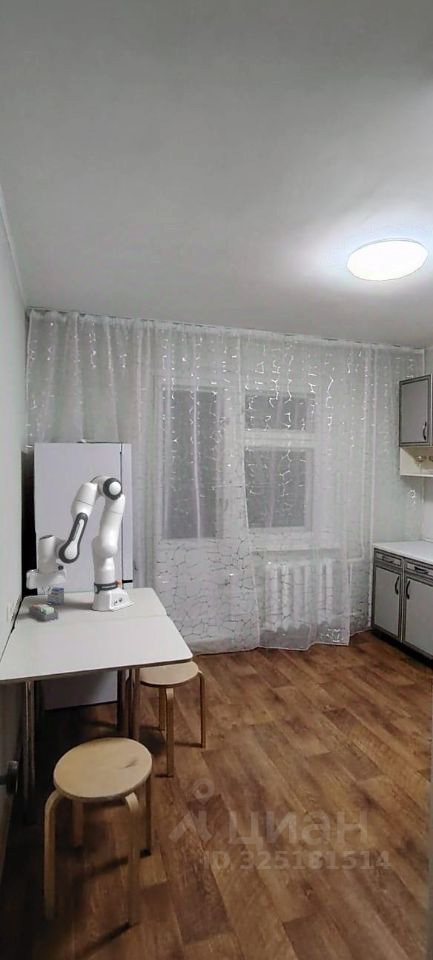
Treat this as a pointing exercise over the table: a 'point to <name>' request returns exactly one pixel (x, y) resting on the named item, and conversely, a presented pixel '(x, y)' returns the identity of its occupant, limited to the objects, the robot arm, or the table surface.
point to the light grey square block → (40, 607)
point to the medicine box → (56, 596)
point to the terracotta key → (36, 606)
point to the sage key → (48, 610)
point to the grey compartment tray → (43, 616)
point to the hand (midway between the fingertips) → (47, 594)
